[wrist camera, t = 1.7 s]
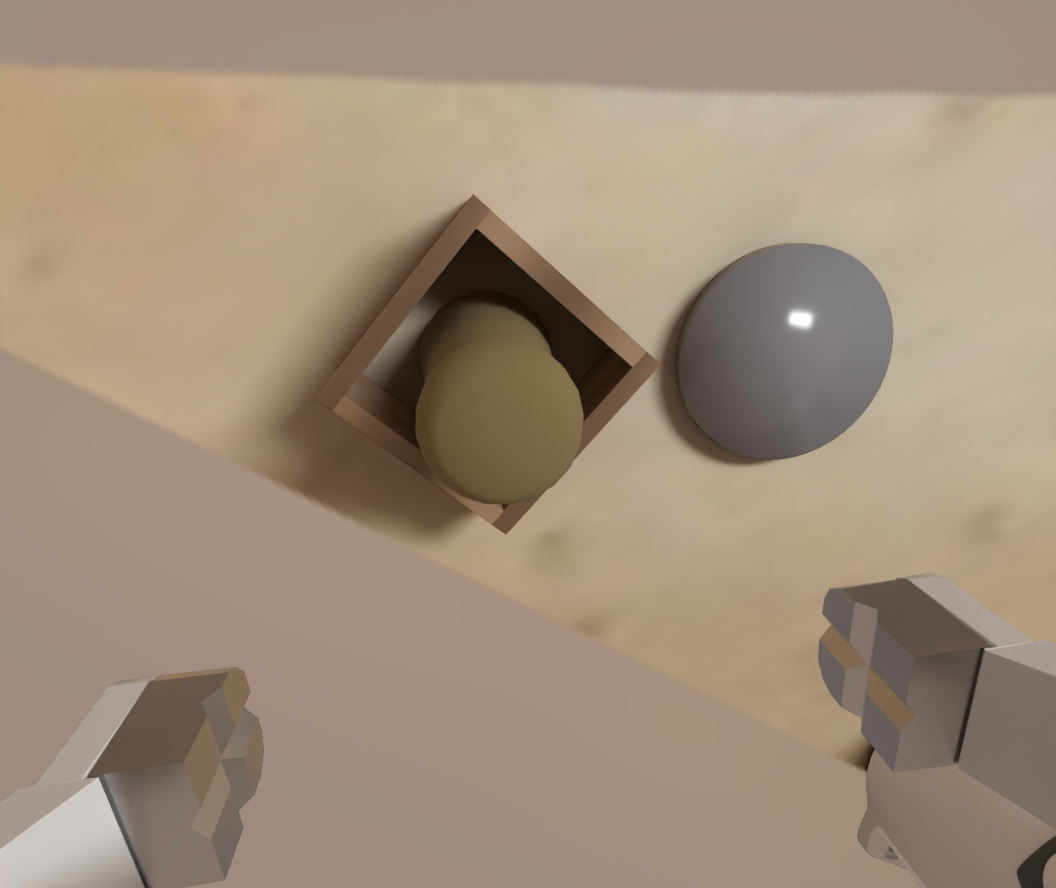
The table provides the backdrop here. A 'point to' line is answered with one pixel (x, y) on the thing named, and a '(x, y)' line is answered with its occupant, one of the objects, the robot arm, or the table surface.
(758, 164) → the table surface
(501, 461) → the cork
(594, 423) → the walnut holder
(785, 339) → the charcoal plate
